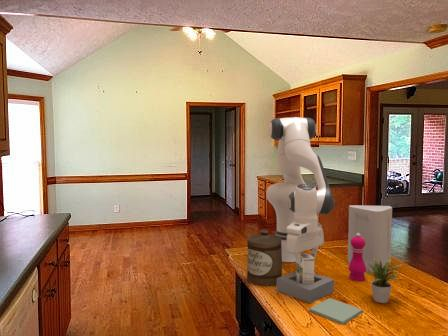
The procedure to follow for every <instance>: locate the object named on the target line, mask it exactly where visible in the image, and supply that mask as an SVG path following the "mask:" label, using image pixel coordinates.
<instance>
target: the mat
mask: <svg viewBox="0 0 448 336" xmlns="http://www.w3.org/2000/svg"><path fill="white" fill-rule="evenodd" d="M308 310H309V312H310V313H312V314H315V315H318V316H319V317H320V316H321V317H323V318H325V319H328V320H329V321H333V322H335V323H338V324H340V325H342V326H343V325H344V324H346V323H348V322H349V321H351V320H353V319H355V318H356V317H359V315H361V314H362V313H363V311H364V310H363V308H362V309H361V308H359V307H356V306H354V305H351V304H347V303H344V302H342V301H339V300H336V299H334V298H331V297H329V298H327V299H325V300H323V301H321V302H320V303H318V304H315V305H314V306H311V307H310V308H309V309H308Z"/></svg>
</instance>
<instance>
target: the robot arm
mask: <svg viewBox="0 0 448 336" xmlns="http://www.w3.org/2000/svg"><path fill="white" fill-rule="evenodd" d="M316 132H317V124H316V122H315V120H314V119H313V118H311V117H299V116H298V117H297V116H292V117H282V118H280V117H277V118H272V119H271V121H270V123H269V125H268V133H269V137H270V138H271V139H272V140H274V141H278V143H277V144H278V146H277V170H278V172H279V173H280V174H281V175H282V176H283V181H282V182H276V183H273V184H270V185H269V186H268V187H267V188H266V193H265V194H266V195H265V196H266V199H267V200H268V202H269V203H270V204H271V205H272V207H273V209H274V211H275V215H276V230H273V231H272V234H273V235H275V236H278V237H280V238H281V241H282V246H281V247H282V263H296V264H297V263H298V264H300V263H302V258H300V254H302V253H303V252H306V251H308V250H311V253H309V254H311V255H312V256H313V257H314V259H316V257H317V252H318V250H319V247H321V246H323V245H324V244H325V237H324V230H323V225H322V224H321V223H320V222H319V221H318V220H319V217H318V215H329V214H330V213H331V212H332V211H333V210H334V208H335V198H334V195H333V193H332V191H331V188H330V185H329V181H328V179H327V175H326V172H325V168H324V165H323V162H322V159H321V157H320V156H319V155H318V154H316V153H315V152H314V150H313V149H312V146H311V141H310V140H312V139H313V138H314V137H315V135H316ZM301 168H304V169H306V170H308V171H310V172H311V173H313V175H314V179H315V183H316V186H317V187H316V186H315V185H314V184H312V183H306V182H305V181H304V179H303V176H302V172H301Z"/></svg>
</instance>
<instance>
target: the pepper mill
mask: <svg viewBox="0 0 448 336" xmlns="http://www.w3.org/2000/svg"><path fill="white" fill-rule="evenodd" d="M351 245H352V246H353V247H352V251H353V257H352V260H351V262H350V264H349V263H348V271H349V279H350V280H352V281H357V282H363V281H365V279H366V275H365V273H364V272H367V270H366V265H365V263H364V261H363V252H364V248H363V247H364V246H365V240H364V239H363V238H362V237H360V234H359V233H357V234H356V237H353V238H352V239H351Z"/></svg>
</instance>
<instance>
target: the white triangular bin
mask: <svg viewBox="0 0 448 336" xmlns="http://www.w3.org/2000/svg"><path fill="white" fill-rule="evenodd" d="M392 222H393V207H392V206H391V205H357V204H356V205H351V204H350V205H349V206H348V235H347V237H348V238H347V239H348V240H347V243H348V244H347V263H348V265H349V264H350V262H351V260H352V257H353V251H352V247H353V246H352V245H351V239H352V238H353V237H356V234H357V233H359V234H360V237H362V238H363V239H364V240H365V246H364V247H363V248H364V252H363V261H364V263H365V265H366V271H367V272H370V273H373V272H374V271H373V269H372V268H371V267H370V265H369V264H368V263H370V264H371V265H372V266H373V265H374V261H373V258H375V260H376V261H377V263H378V264H379V265H380V262H379V257H380V260H381V263H382V269H383V267H384V265H385V263H386V261H387V260H388V258H389V261H390V260H392V258H391V253H392V250H391V249H392ZM366 261H367V262H368V263H367V262H366ZM389 261H388V262H389ZM374 267H375V266H374ZM374 267H373V268H374Z"/></svg>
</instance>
